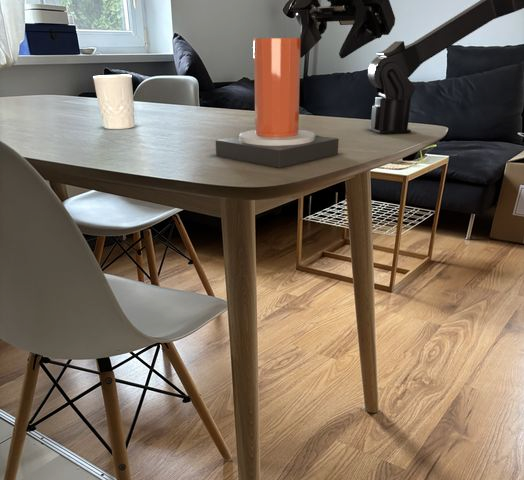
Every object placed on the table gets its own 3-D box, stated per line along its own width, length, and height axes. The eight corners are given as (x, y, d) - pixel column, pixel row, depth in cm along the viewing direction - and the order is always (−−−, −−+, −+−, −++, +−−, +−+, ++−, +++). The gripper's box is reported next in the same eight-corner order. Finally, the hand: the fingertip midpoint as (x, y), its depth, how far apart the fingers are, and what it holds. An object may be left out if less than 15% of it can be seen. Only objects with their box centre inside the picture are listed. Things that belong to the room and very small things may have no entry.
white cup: (133, 129, 109) (126, 76, 104) (96, 129, 109) (87, 77, 104) (141, 124, 116) (135, 74, 111) (107, 124, 116) (99, 75, 111)
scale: (274, 144, 91) (274, 125, 89) (337, 154, 83) (339, 133, 81) (216, 155, 83) (215, 134, 81) (279, 167, 74) (279, 144, 72)
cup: (267, 129, 85) (266, 38, 78) (304, 132, 82) (307, 38, 76) (248, 135, 80) (245, 38, 73) (287, 138, 77) (288, 37, 70)
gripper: (301, -57, 88) (257, 18, 87) (394, -72, 77) (345, 13, 76) (326, 0, 97) (287, 68, 96) (414, -6, 86) (370, 71, 85)
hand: (319, 56), depth 88 cm, fingers open, 9 cm apart
